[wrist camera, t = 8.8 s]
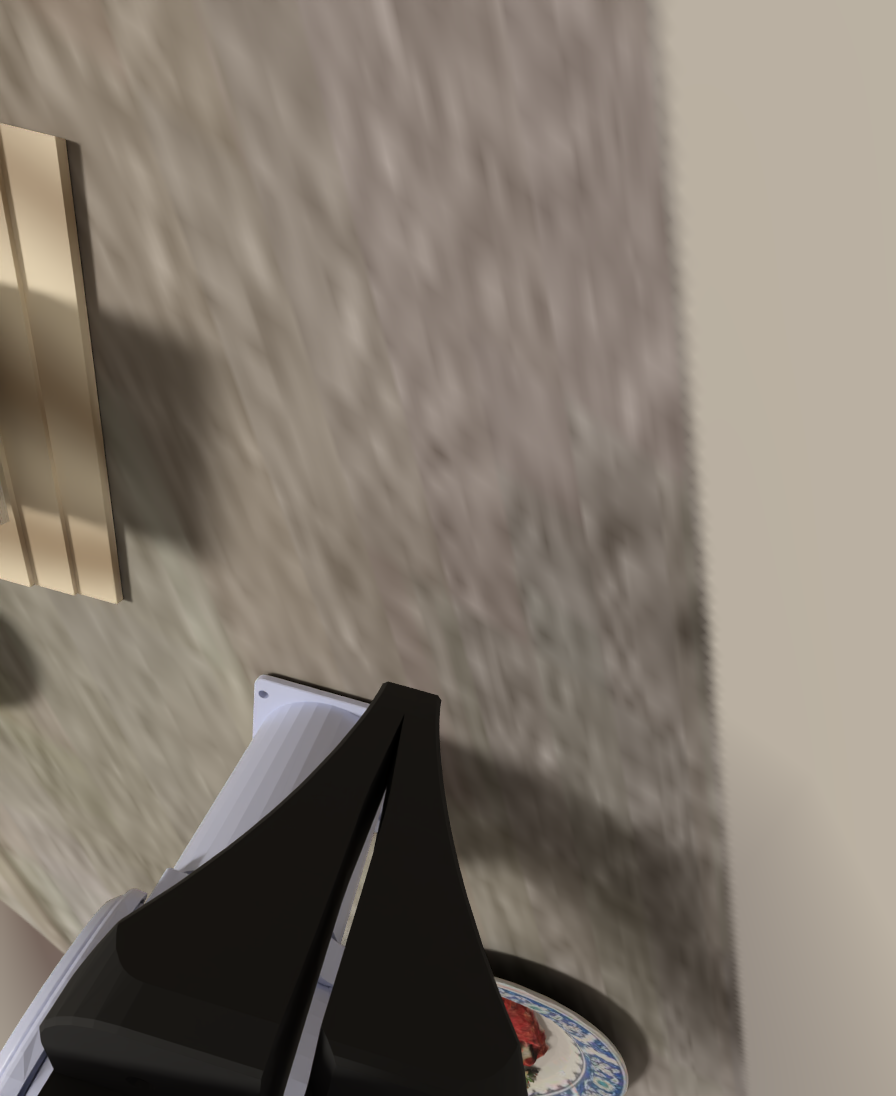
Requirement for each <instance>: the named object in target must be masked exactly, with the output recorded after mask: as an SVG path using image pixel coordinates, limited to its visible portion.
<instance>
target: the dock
mask: <svg viewBox="0 0 896 1096" xmlns="http://www.w3.org/2000/svg"><path fill="white" fill-rule="evenodd" d="M0 481H1V485H2V490H3V494H4V498H5V502H6V506H7V511H8V515H9V519H10V521H9V522H7V523H4V524H2V525H0V579H4V580H7V581H11V582H14V583H18V584H21V585H25V586H28V587H31V586H33V585H39V586H42V587H46V588H50V589H53V590H57V591H60V592H64V593H67V594H71V595H76V594H77V593H79V594H82V595H86V596H90V597H93V598H97V599H100V600H104V601H107V602H111V603H115V604H118V603H119V602H121V601H122V600H123V595H122V587H121V579H120V571H119V563H118V555H117V547H116V539H115V531H114V523H113V515H112V507H111V499H110V491H109V483H108V475H107V467H106V459H105V451H104V443H103V435H102V427H101V419H100V411H99V403H98V395H97V387H96V379H95V371H94V363H93V356H92V348H91V340H90V332H89V324H88V316H87V308H86V300H85V292H84V284H83V276H82V268H81V260H80V252H79V244H78V236H77V228H76V220H75V212H74V204H73V196H72V188H71V180H70V172H69V164H68V156H67V148H66V140H65V139H63V138H59V137H55V136H51V135H47V134H43V133H39V132H35V131H31V130H27V129H23V128H19V127H14V126H10V125H6V124H2V123H0Z"/></svg>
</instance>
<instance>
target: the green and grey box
mask: <svg viewBox="0 0 896 1096" xmlns="http://www.w3.org/2000/svg"><path fill="white" fill-rule="evenodd" d="M9 521H10V519H9V515H8V511H7V506H6V502H5V498H4V494H3V490H2V485H1V481H0V525H2V524H4V523H7V522H9Z"/></svg>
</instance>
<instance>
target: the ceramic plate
mask: <svg viewBox="0 0 896 1096" xmlns="http://www.w3.org/2000/svg"><path fill="white" fill-rule="evenodd" d="M494 978H495V981H496V984H497V986H498V989H499V992H500V994H501V997H502V999H503V1002H504V1004H505V1007H506V1010H507V1012H508V1014H509V1017H510V1019H511V1022H512V1024H513V1027H514V1029H515V1031H516V1034H517V1036H518V1039H519V1042H520V1046H521V1052H522V1058H523V1064H524V1070H525V1076H526V1084H527V1091H528V1096H624V1095H625V1093H626V1091H627V1088H628V1073H627V1069H626V1065H625V1062H624V1060H623V1058H622V1056H621V1054H620V1053H619V1051H618V1050H617V1048H616V1047H615V1046H614V1044H613V1043H612V1042H611V1041H610V1040H609V1039H608V1038H607V1036H605V1035H604V1034H603V1033H602V1032H601V1031H600V1030H599V1029H597V1028H596V1027H595V1026H594V1025H592V1024H591V1023H590V1022H588V1021H587V1020H586V1019H584V1018H583V1017H582V1016H580V1015H579V1014H577V1013H576V1012H574V1011H572V1010H570V1009H569V1008H567V1007H565V1006H563V1005H561V1004H560V1003H558V1002H556V1001H554V1000H553V999H551V998H549V997H547V996H545V995H542V994H540V993H538V992H535V991H533V990H531V989H528V988H526V987H523V986H521V985H519V984H516V983H514V982H510V981H507V980H504V979H501V978H498V977H494Z"/></svg>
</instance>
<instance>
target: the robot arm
mask: <svg viewBox="0 0 896 1096" xmlns="http://www.w3.org/2000/svg"><path fill="white" fill-rule="evenodd" d="M440 705H441V699H440V698H439V696H438V695H434V694H431V693H427V692H424V691H420V690H417V689H413V688H409V687H406V686H402V685H399V684H395V683H392V682H386V683H383V684H382V686H381V688H380V690H379V691H378V693H377V695H376V696H375V698H374V699H373V701H372V702H371V704H369V703H365V702H361V701H358V700H354V699H351V698H347V697H344V696H340V695H337V694H333V693H330V692H326V691H322V690H319V689H315V688H312V687H308V686H305V685H301V684H298V683H294V682H291V681H287V680H284V679H280V678H276V677H273V676H269V675H260V676H259V677H258V678H257V680H256V681H255V688H254V716H253V739H252V741H251V743H250V744H249V746H248V748H247V749H246V751H245V752H244V754H243V756H242V757H241V759H240V761H239V762H238V764H237V766H236V767H235V769H234V770H233V772H232V774H231V775H230V777H229V779H228V780H227V782H226V783H225V785H224V787H223V788H222V790H221V792H220V793H219V795H218V796H217V798H216V800H215V801H214V803H213V805H212V806H211V808H210V809H209V811H208V813H207V814H206V816H205V818H204V819H203V821H202V822H201V824H200V826H199V827H198V829H197V831H196V832H195V834H194V835H193V837H192V839H191V840H190V842H189V844H188V845H187V847H186V848H185V850H184V852H183V853H182V855H181V857H180V858H179V860H178V861H177V863H176V865H175V866H174V868H167V869H166V871H165V872H164V874H163V875H162V877H161V879H160V880H159V882H158V883H157V885H156V887H155V888H154V890H153V891H152V893H151V895H150V896H149V898H148V899H147V901H146V903H145V904H144V902H145V900H146V897H147V893H146V892H143V891H141V890H139V889H136V888H133V889H131V890H129V891H127V892H126V893H125V894H124V895H120V896H118V897H116V898H113V899H111V900H109V901H107V902H106V903H105V904H104V905H103V906H102V907H101V908H100V909H99V910H98V911H97V912H96V914H95V915H94V916H93V917H92V918H91V920H90V921H89V922H88V923H87V925H86V926H85V927H84V929H83V930H82V931H81V933H80V934H79V935H78V937H77V938H76V939H75V941H74V942H73V943H72V945H71V946H70V948H69V949H68V950H67V952H66V953H65V955H64V956H63V957H62V959H61V960H60V962H59V963H58V965H57V966H56V967H55V969H54V970H53V972H52V973H51V975H50V976H49V978H48V979H47V981H46V982H45V983H44V985H43V986H42V988H41V989H40V991H39V992H38V994H37V996H36V997H35V999H34V1000H33V1002H32V1003H31V1005H30V1006H29V1008H28V1009H27V1011H26V1012H25V1014H24V1015H23V1017H22V1019H21V1020H20V1022H19V1023H18V1025H17V1026H16V1028H15V1029H14V1031H13V1033H12V1034H11V1036H10V1037H9V1039H8V1041H7V1042H6V1044H5V1046H4V1047H3V1049H2V1051H1V1052H0V1096H528V1091H527V1084H526V1076H525V1070H524V1064H523V1058H522V1052H521V1046H520V1042H519V1039H518V1036H517V1034H516V1031H515V1029H514V1027H513V1024H512V1022H511V1019H510V1017H509V1014H508V1012H507V1010H506V1007H505V1004H504V1002H503V999H502V997H501V994H500V992H499V989H498V986H497V984H496V981H495V978H494V976H493V973H492V970H491V967H490V965H489V962H488V959H487V956H486V953H485V951H484V948H483V945H482V942H481V938H480V935H479V932H478V929H477V926H476V923H475V919H474V916H473V913H472V910H471V907H470V903H469V900H468V897H467V894H466V890H465V886H464V882H463V879H462V875H461V871H460V867H459V863H458V859H457V855H456V851H455V846H454V842H453V837H452V832H451V827H450V822H449V816H448V810H447V805H446V798H445V791H444V784H443V775H442V766H441V756H440V737H439V717H440ZM374 832H377V837H376V842H375V847H374V852H373V856H372V859H371V862H370V866H369V869H368V872H367V876H366V879H365V883H364V886H363V889H362V893H361V896H360V899H359V902H358V906H357V909H356V912H355V916H354V919H353V922H352V926H351V929H350V932H349V936H348V939H347V942H346V946H343V945H341V941H342V937H343V934H344V931H345V927H346V924H347V921H348V917H349V914H350V911H351V907H352V904H353V901H354V897H355V894H356V891H357V887H358V884H359V881H360V877H361V874H362V871H363V867H364V864H365V861H366V857H367V854H368V851H369V847H370V844H371V841H372V837H373V834H374Z"/></svg>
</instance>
